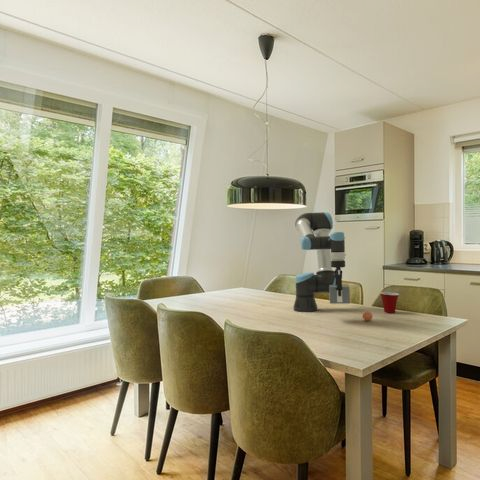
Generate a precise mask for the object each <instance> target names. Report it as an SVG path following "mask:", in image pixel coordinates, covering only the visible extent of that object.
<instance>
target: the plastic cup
mask: <svg viewBox="0 0 480 480" xmlns="http://www.w3.org/2000/svg"><path fill="white" fill-rule="evenodd" d="M379 293H380V298H381V301H382V307H383V311H384V313H385V312H386V313H385V314H395V313H396V309H397V303H398V298H399V296H400V293H397V292H391V291H380V292H379Z"/></svg>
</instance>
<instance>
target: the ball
mask: <svg viewBox="0 0 480 480" xmlns="http://www.w3.org/2000/svg"><path fill="white" fill-rule="evenodd" d="M362 319H363V320H364V321H366V322H370V321H372V320H373V314H372V313H371V312H370V311H364V312H363V313H362Z"/></svg>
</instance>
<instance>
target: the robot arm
mask: <svg viewBox="0 0 480 480" xmlns="http://www.w3.org/2000/svg"><path fill="white" fill-rule="evenodd" d="M294 225H295V228H296V230H297V231H298V232H299V235H300V236H301V238H300V247H301V250H303V251H305V250H306V251H310V250H311V251H312V250H313V251H315V250H316V255H317V258H316V259H317V268H318V269H317V271H316V274H314V272H304V273H299V274H297V275H296V276H295V281H294V283H295V300H294V302H293V311H296V312H303V313H305V312H306V313H310V312H315V311H318V305H317V302H316V298H315V294H326V293H328V294H329V285H337V288H336V290H337V302H342V285H343V280H342V279H343V270H341V269H342V268H346V261H345V260H346V257H345V256H347V254H346V250H345V249H346V248H345V244H346V243H345V239H346V238H345V233H344V232H343V231H334V232H333V231H331V230H332V229H333V228H334V224H333V218H332V215H331V213H330V212H324V211H323V212H306V213H302V214H300V215H299V216H298V217H297V218H296V220H295V223H294ZM333 268H335V270H334V269H333Z"/></svg>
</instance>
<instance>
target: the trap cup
mask: <svg viewBox="0 0 480 480" xmlns="http://www.w3.org/2000/svg"><path fill="white" fill-rule="evenodd" d="M336 288H337V285H329V293H328V294H329V303H330V304H332V305H333V304H335V305H336V304H343V305H345V304H347V305H348V304H351V303H350V302H351V300H350V299H351V298H350V297H351V296H350V286H349V285H348V284H342V302H337V290H336Z"/></svg>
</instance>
